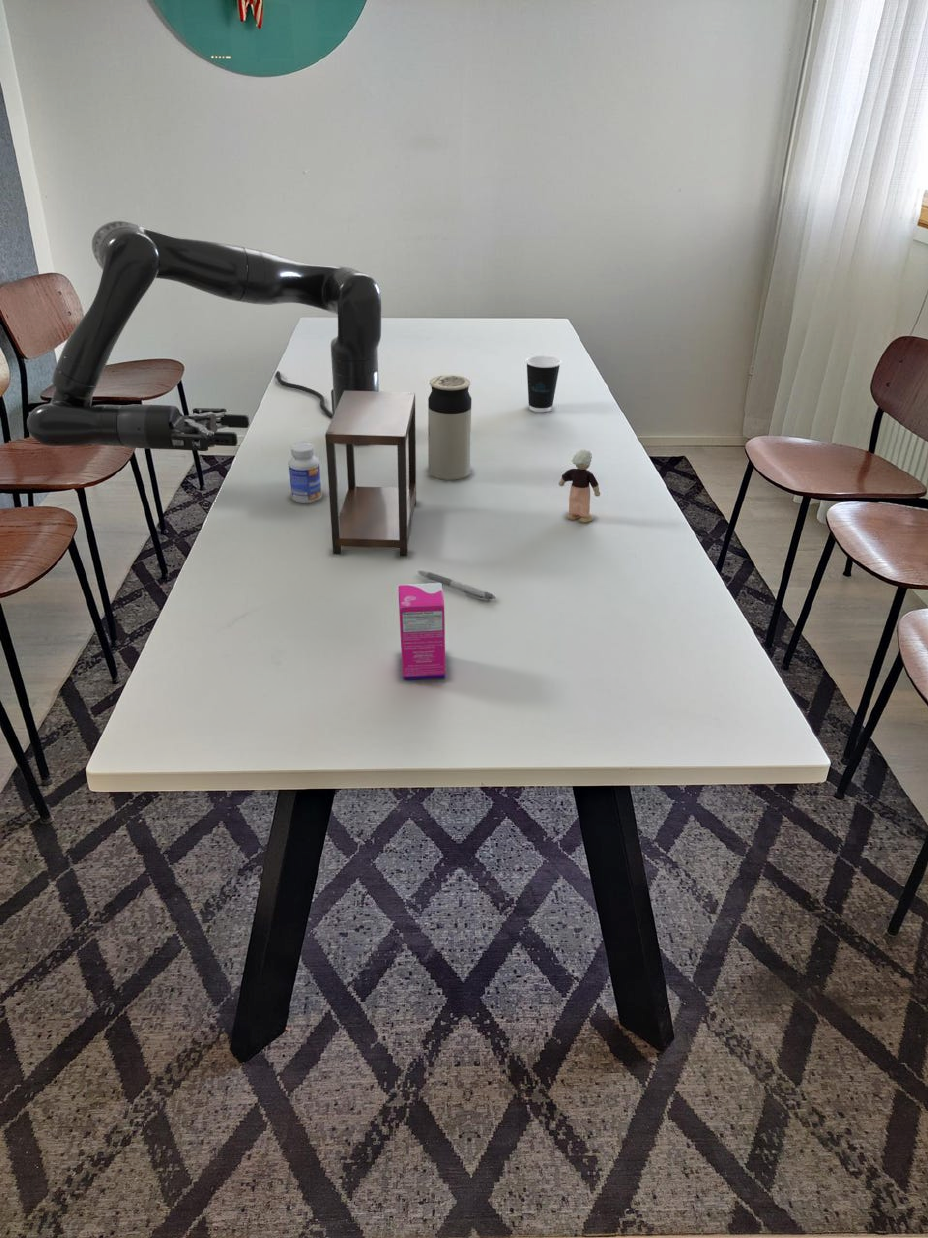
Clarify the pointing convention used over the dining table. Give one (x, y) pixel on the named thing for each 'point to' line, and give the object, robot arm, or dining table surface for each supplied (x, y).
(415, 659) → the supplement box
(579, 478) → the grandmother figurine
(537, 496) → the dining table surface
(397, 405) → the shelf
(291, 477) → the pill bottle
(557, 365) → the dixie cup
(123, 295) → the robot arm
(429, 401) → the travel mug
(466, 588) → the pen
